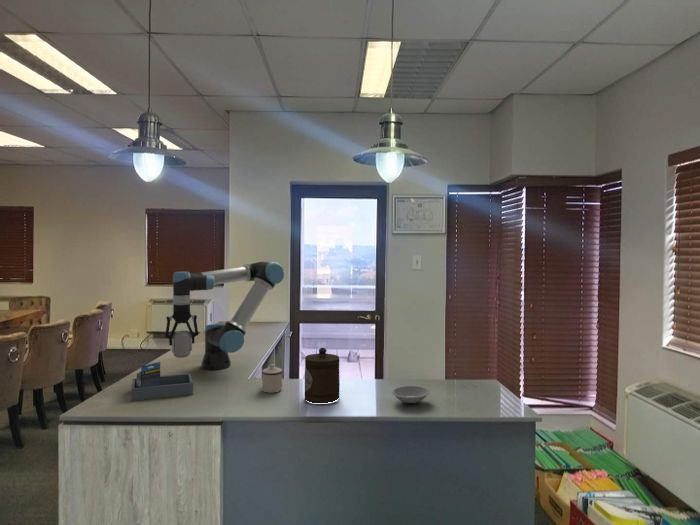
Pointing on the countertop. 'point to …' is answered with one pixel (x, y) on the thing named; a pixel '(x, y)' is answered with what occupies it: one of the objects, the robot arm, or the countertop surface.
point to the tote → (164, 388)
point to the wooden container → (322, 377)
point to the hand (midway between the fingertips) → (182, 351)
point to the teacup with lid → (272, 379)
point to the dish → (410, 393)
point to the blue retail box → (149, 376)
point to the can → (181, 344)
